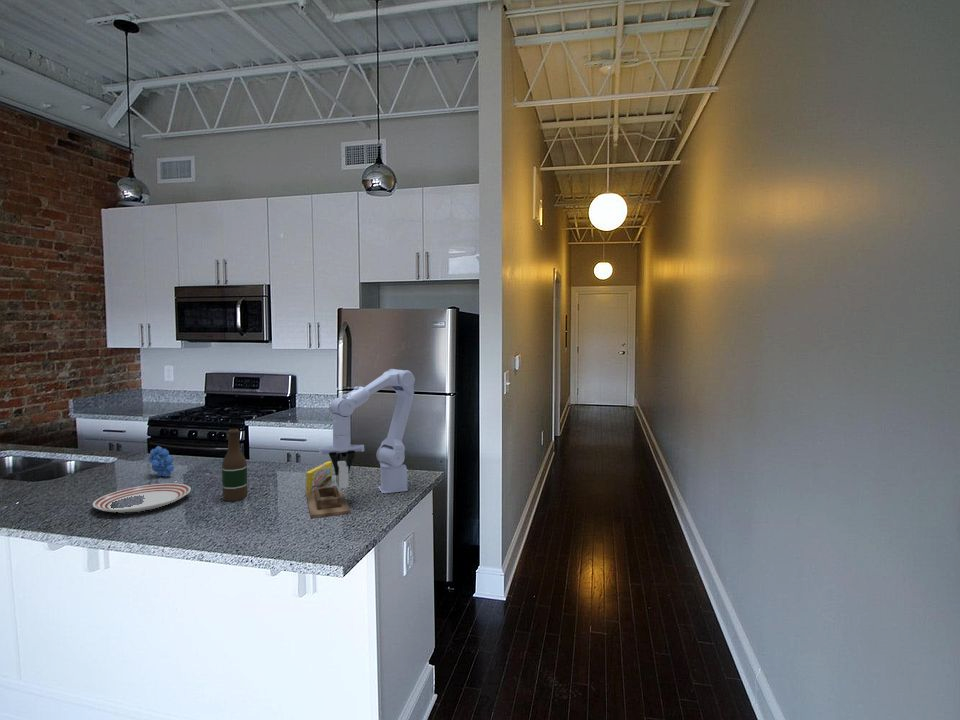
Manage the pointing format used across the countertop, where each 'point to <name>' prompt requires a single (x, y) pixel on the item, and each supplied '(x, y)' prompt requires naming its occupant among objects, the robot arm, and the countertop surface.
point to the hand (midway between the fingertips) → (342, 473)
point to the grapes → (161, 461)
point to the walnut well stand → (327, 502)
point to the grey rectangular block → (342, 474)
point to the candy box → (318, 477)
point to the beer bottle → (234, 470)
